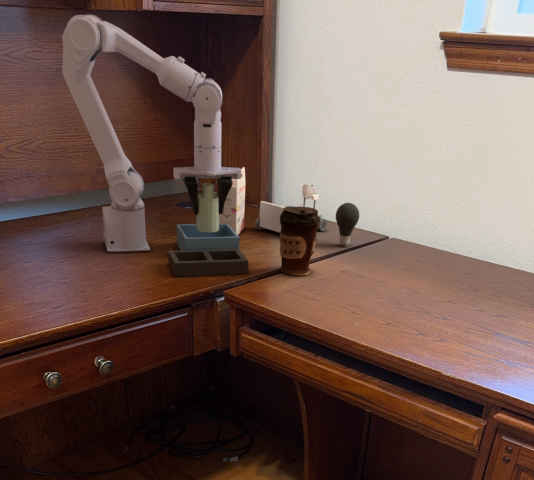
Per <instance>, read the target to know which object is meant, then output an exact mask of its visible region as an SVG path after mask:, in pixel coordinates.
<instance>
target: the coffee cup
mask: <svg viewBox="0 0 534 480" xmlns="http://www.w3.org/2000/svg"><path fill="white" fill-rule="evenodd" d="M284 207H285V208H284V209H283V210H284V211H283V212H282V214H281V215H280V224H281V232H279V254H280V259H281V265H280V271H281V272H283V273H285V274H287V275H293V276H307V275H309V274H310V273H311V269H310V261H311V258H312V256H313V255H314V253H315V246H316V244H317V232H318V226H319V222H320V217H319V216H318V214H319V210H317V209H316V208H315V209H314V208H313V207H310V206H305V207H303V206H302V205H301V206H291V205H289V206H284Z"/></svg>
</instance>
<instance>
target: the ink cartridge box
mask: <svg viewBox="0 0 534 480" xmlns="http://www.w3.org/2000/svg"><path fill="white" fill-rule="evenodd" d="M240 169H241V179H236V178H232V181H233V185H232V187H231V189H230V191H229V193H228V195H227V198H226V201H225V204H224V208H223V214H219V224H229V225H230V227H231V228H232V229H233V230H234V231H235V233H236V234H237V235H238V236H239V235H240V234H241V232H242V231H243V230H244V228H245V209H246V208H245V207H246V206H245V205H246V204H245V203H246V169H245V166H243V167H242V168H240Z"/></svg>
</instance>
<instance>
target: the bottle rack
mask: <svg viewBox="0 0 534 480" xmlns="http://www.w3.org/2000/svg"><path fill="white" fill-rule="evenodd" d="M167 254H168V255H167V257H168V258H167V259H168V265H169V267H170V269H171V271H172V273H173V275H174V277H200V276H201V277H202V276H223V275H224V276H227V275H248V274H249V260H248V259H247V257H246V256H245V255H244V254H243V252H242V251H241V250H240V248H239V249H214V250H167Z"/></svg>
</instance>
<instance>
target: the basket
mask: <svg viewBox="0 0 534 480" xmlns="http://www.w3.org/2000/svg"><path fill="white" fill-rule="evenodd" d="M176 245H177V247H178V248H179V251H181V250H214V249H239V250H240V236H239V234H238V235H237V234H236V233H235V231H234V230H233V229H232V228H231V227H230V225H229V224H219V230H218V231H216V232H201V231H198V230H197V227H196V223H188V224H187V223H185V224H183V223H182V224H176Z"/></svg>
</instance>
